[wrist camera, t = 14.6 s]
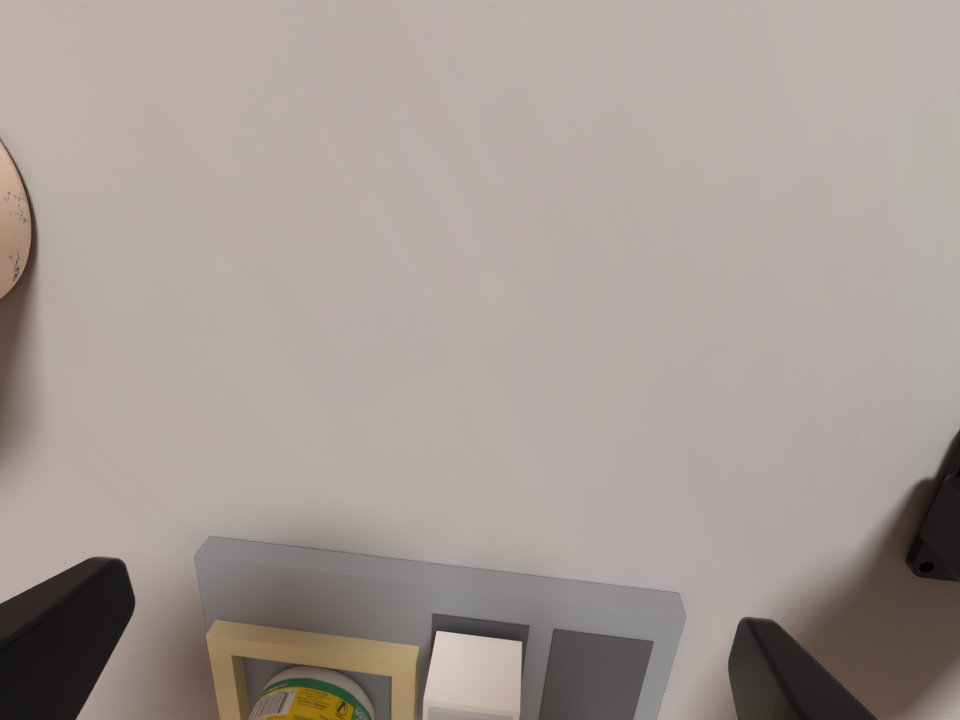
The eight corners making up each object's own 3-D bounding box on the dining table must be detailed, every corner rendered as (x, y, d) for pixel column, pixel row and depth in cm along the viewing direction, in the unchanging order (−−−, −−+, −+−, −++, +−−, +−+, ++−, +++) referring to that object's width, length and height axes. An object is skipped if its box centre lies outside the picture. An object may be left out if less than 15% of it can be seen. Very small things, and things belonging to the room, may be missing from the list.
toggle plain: (522, 641, 23) (519, 717, 20) (515, 692, 24) (512, 771, 21) (436, 630, 23) (422, 704, 20) (433, 681, 25) (420, 757, 22)
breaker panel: (679, 593, 23) (691, 633, 22) (622, 800, 29) (627, 846, 27) (209, 536, 25) (183, 570, 23) (241, 745, 30) (221, 786, 28)
